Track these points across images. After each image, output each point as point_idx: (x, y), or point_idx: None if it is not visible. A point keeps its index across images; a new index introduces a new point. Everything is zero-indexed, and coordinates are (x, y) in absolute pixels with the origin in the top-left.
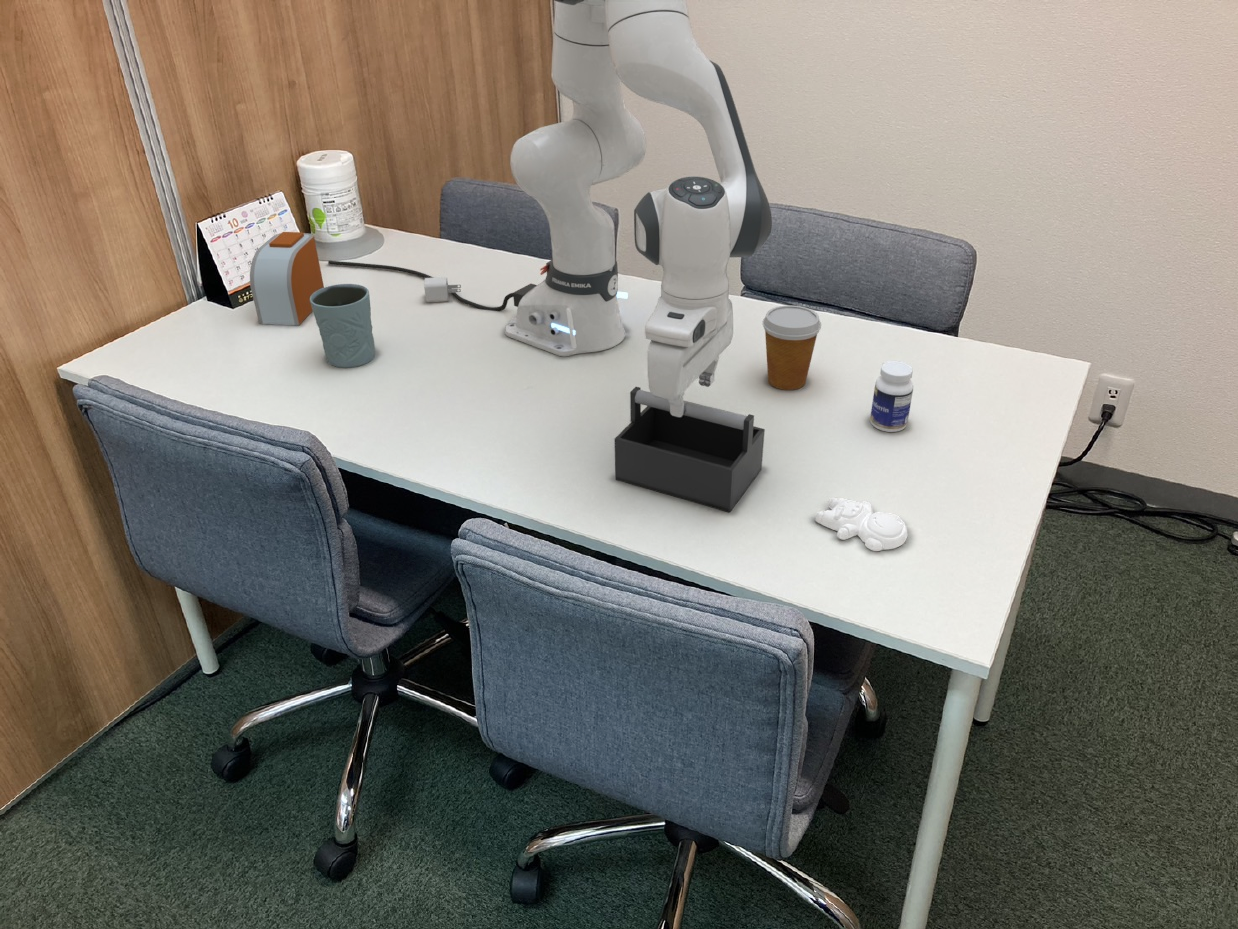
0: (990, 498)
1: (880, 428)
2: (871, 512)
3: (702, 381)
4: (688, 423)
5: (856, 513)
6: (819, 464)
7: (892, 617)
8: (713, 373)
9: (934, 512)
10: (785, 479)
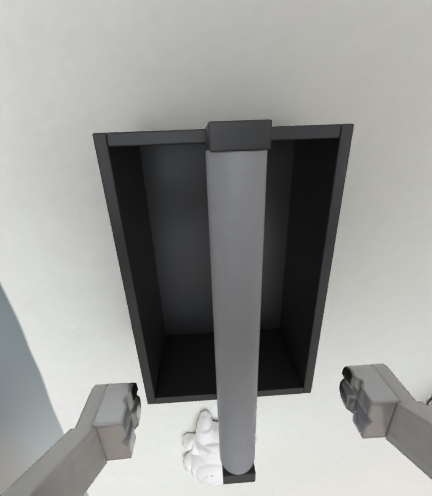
0: (320, 492)
1: (429, 405)
2: None
3: (352, 386)
4: (311, 236)
5: (211, 463)
6: (325, 376)
7: (104, 488)
8: (389, 437)
9: (276, 472)
10: None
